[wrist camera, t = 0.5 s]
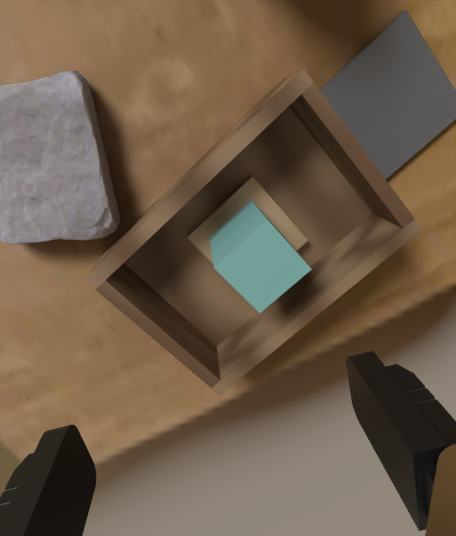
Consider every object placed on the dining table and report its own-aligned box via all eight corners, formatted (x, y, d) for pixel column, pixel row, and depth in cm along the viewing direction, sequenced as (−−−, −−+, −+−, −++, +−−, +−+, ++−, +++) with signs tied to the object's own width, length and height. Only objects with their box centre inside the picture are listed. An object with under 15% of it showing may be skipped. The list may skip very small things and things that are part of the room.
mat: (402, 12, 29) (406, 10, 29) (461, 109, 32) (466, 109, 31) (308, 101, 31) (310, 100, 30) (373, 186, 34) (376, 187, 33)
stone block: (25, 240, 34) (134, 227, 33) (-12, 258, 30) (112, 243, 28) (-22, 93, 31) (98, 70, 29) (-73, 88, 26) (65, 60, 25)
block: (251, 199, 31) (267, 219, 24) (287, 239, 32) (311, 269, 26) (209, 238, 32) (213, 267, 25) (246, 275, 33) (259, 313, 27)
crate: (282, 79, 30) (303, 69, 24) (384, 212, 34) (422, 229, 29) (102, 253, 33) (84, 280, 28) (215, 354, 38) (219, 395, 32)
